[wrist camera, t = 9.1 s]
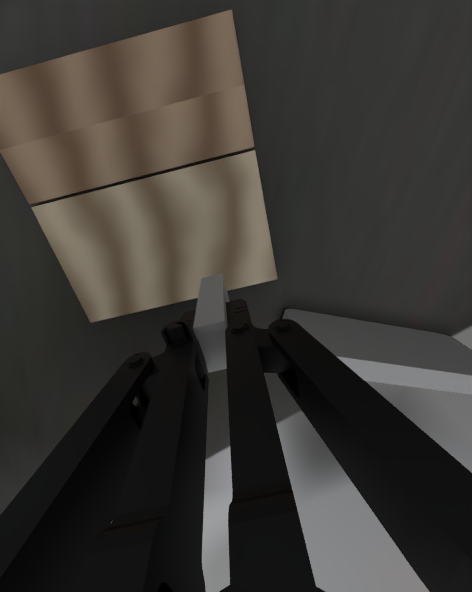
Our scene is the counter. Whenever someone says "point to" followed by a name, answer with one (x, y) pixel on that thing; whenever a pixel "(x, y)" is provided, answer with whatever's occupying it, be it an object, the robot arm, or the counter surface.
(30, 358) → the counter surface
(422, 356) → the decorative sign
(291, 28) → the counter surface
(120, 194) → the plank
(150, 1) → the counter surface
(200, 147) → the floor strip
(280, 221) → the counter surface
